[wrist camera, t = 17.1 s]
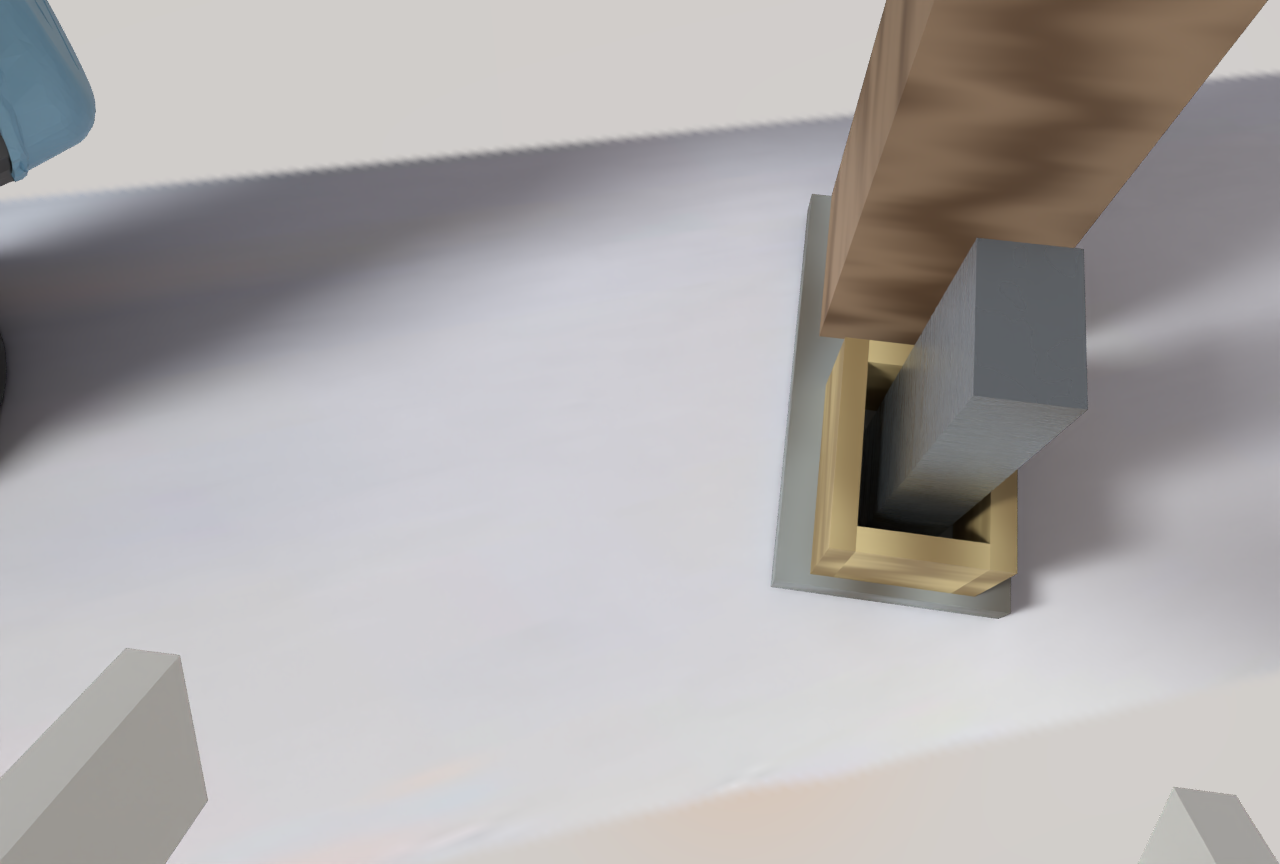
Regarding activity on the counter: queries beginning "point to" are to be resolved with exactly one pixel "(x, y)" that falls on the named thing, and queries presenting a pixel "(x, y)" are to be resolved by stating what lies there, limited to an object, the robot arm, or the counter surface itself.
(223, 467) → the counter surface
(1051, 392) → the grey block
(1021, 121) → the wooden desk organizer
